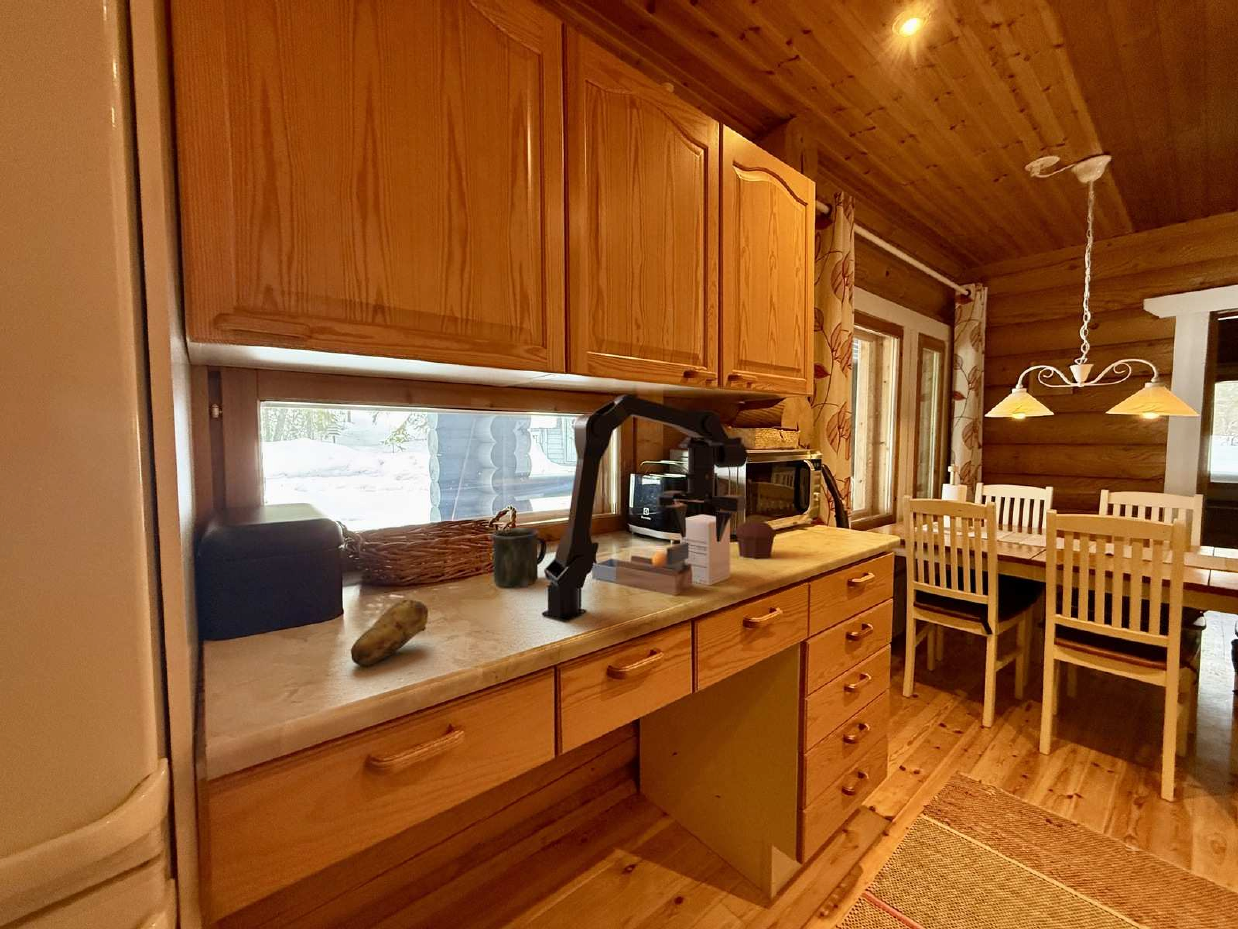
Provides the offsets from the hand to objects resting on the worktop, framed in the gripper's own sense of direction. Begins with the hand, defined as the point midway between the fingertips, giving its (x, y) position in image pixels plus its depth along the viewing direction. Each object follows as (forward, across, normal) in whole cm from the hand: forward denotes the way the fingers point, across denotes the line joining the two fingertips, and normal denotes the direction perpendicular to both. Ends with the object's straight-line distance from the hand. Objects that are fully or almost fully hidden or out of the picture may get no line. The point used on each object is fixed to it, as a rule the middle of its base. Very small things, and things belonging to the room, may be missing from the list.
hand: (700, 539), depth 115 cm
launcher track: (+12, +12, 0) cm, 17 cm away
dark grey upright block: (+8, +6, 0) cm, 10 cm away
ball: (+6, +10, 0) cm, 12 cm away
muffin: (+13, +3, -42) cm, 44 cm away
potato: (+12, +28, +57) cm, 64 cm away
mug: (+12, +40, +15) cm, 45 cm away
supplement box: (+12, +4, -12) cm, 18 cm away
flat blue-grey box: (+12, +23, 0) cm, 26 cm away
